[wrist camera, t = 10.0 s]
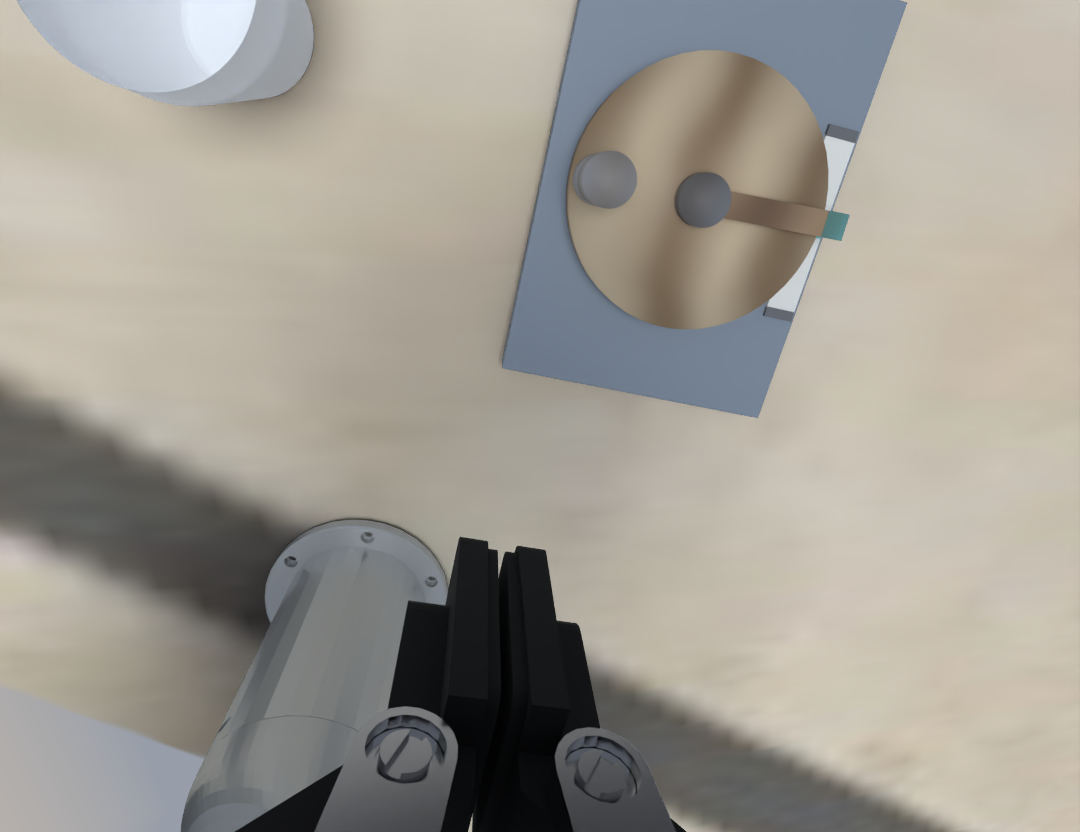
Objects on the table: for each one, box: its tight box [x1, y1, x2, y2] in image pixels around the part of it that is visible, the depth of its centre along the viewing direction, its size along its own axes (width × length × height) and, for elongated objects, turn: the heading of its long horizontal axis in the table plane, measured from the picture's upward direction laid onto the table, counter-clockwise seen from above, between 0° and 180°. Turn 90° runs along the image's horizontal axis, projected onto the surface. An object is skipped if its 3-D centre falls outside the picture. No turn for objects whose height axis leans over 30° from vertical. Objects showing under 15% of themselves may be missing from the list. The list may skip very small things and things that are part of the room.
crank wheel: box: [566, 50, 849, 330], centre depth 34 cm, size 15×14×6 cm
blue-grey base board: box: [502, 0, 907, 418], centre depth 37 cm, size 24×17×2 cm
